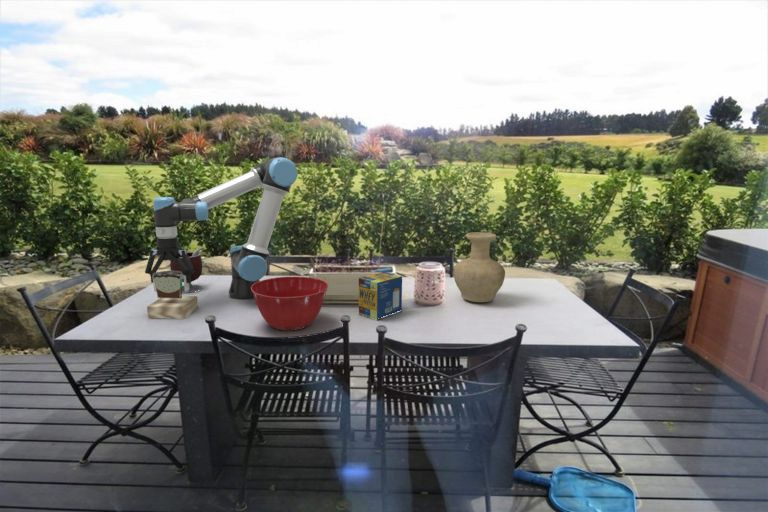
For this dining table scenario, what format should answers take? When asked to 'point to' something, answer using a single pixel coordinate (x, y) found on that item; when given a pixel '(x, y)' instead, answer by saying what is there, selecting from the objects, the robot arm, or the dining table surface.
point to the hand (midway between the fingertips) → (171, 290)
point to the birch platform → (172, 307)
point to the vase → (479, 270)
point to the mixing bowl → (289, 300)
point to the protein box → (380, 294)
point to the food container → (168, 284)
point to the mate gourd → (197, 266)
